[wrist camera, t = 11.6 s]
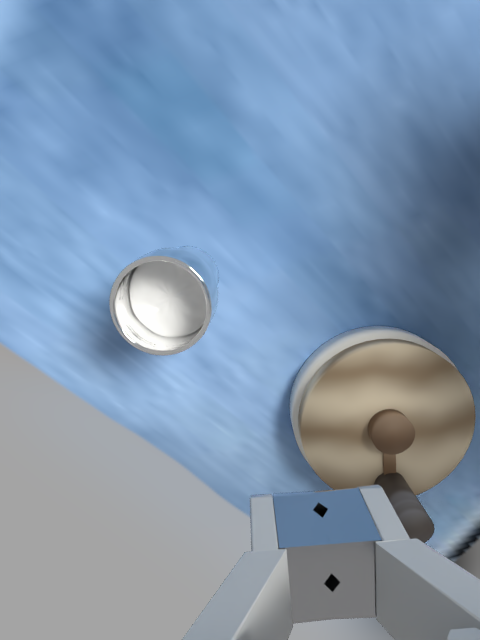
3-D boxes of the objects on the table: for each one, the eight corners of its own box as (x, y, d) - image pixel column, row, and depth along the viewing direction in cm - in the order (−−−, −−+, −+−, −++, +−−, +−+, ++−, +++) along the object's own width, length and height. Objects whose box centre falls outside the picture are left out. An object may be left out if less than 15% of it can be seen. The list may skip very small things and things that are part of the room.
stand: (460, 322, 40) (494, 337, 35) (444, 484, 45) (472, 519, 40) (288, 329, 41) (296, 345, 35) (290, 490, 45) (297, 526, 40)
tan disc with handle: (291, 348, 38) (304, 380, 30) (465, 329, 38) (524, 356, 30) (304, 496, 42) (319, 558, 34) (462, 480, 42) (513, 539, 34)
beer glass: (155, 308, 40) (107, 356, 25) (154, 239, 38) (103, 249, 24) (222, 311, 40) (213, 360, 26) (224, 243, 38) (216, 254, 24)
